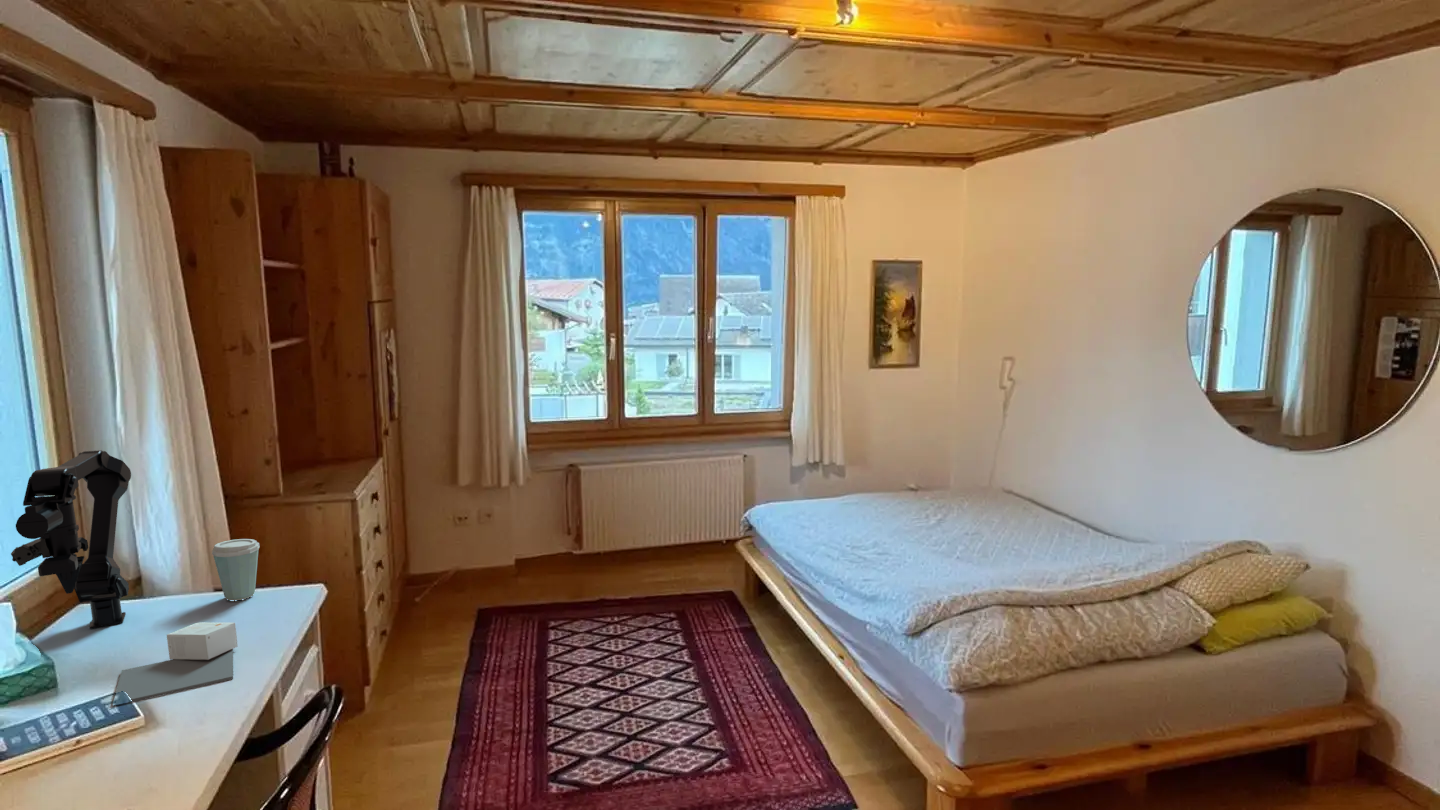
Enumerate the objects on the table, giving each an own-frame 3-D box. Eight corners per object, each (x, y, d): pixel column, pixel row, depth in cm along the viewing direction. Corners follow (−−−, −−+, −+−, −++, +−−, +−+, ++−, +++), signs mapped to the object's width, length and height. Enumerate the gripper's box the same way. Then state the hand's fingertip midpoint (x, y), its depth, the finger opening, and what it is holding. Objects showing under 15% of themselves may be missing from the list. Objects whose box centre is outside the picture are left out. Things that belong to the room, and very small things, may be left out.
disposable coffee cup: (229, 590, 215) (223, 536, 213) (272, 588, 216) (266, 534, 214) (209, 606, 204) (202, 549, 202) (254, 603, 206) (247, 547, 203)
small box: (168, 659, 174) (207, 660, 172) (165, 634, 174) (204, 634, 171) (200, 646, 182) (238, 647, 180) (198, 621, 182) (236, 622, 179)
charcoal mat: (122, 672, 170) (121, 670, 170) (232, 649, 180) (232, 646, 180) (112, 706, 156) (112, 703, 156) (233, 678, 166) (232, 676, 166)
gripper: (21, 520, 182) (31, 587, 184) (1, 543, 166) (13, 615, 168) (83, 512, 187) (93, 577, 190) (70, 533, 171) (80, 603, 174)
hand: (69, 592), depth 180 cm, fingers closed
